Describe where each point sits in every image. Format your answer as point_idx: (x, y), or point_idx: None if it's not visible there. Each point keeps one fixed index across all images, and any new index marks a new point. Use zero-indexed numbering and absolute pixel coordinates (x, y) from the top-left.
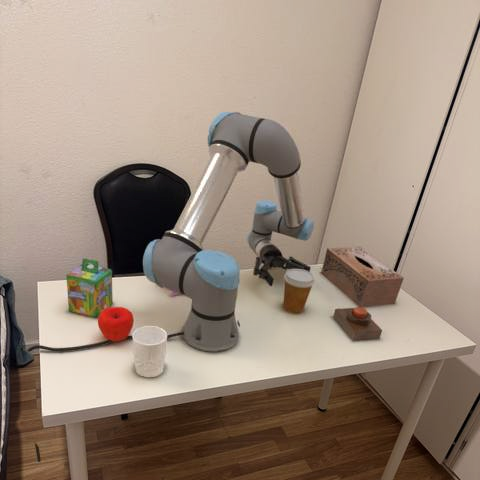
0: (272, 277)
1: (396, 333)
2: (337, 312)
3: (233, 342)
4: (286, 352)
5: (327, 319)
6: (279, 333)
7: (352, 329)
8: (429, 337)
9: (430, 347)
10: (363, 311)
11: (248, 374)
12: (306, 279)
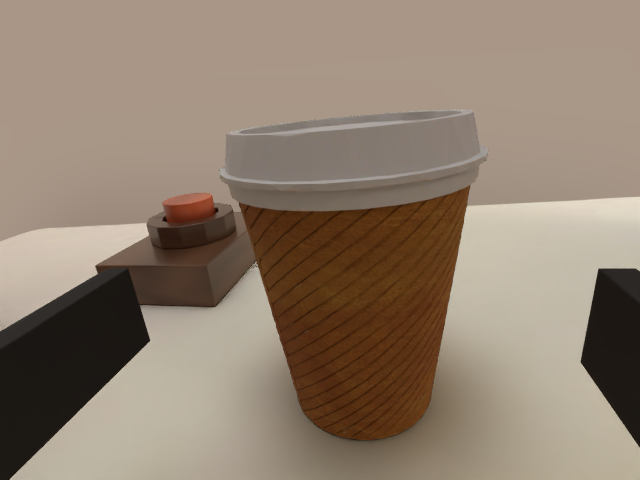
0: (617, 281)
1: (121, 250)
2: (218, 259)
3: None
4: (498, 228)
5: (250, 301)
6: (508, 268)
7: None
8: (71, 240)
9: (122, 227)
10: (187, 196)
11: (615, 203)
12: (329, 128)
